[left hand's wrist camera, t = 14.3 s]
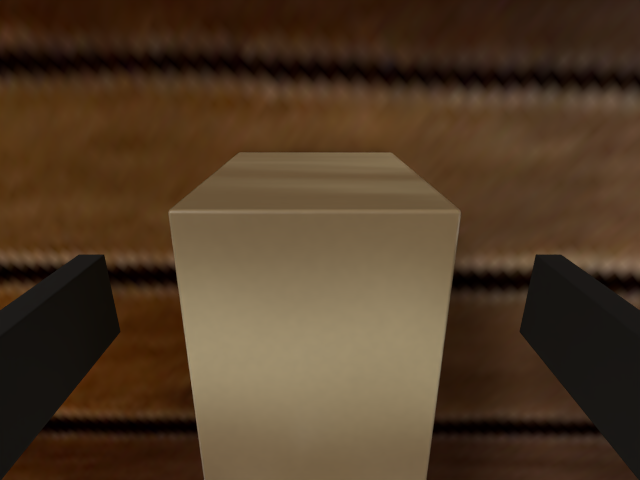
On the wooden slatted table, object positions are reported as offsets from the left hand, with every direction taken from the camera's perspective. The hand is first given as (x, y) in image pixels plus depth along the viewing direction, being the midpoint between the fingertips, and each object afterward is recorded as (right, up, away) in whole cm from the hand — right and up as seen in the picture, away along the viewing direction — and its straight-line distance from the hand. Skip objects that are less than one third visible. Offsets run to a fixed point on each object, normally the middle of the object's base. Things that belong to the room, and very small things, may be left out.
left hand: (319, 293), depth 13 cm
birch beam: (0, -11, +9) cm, 14 cm away
